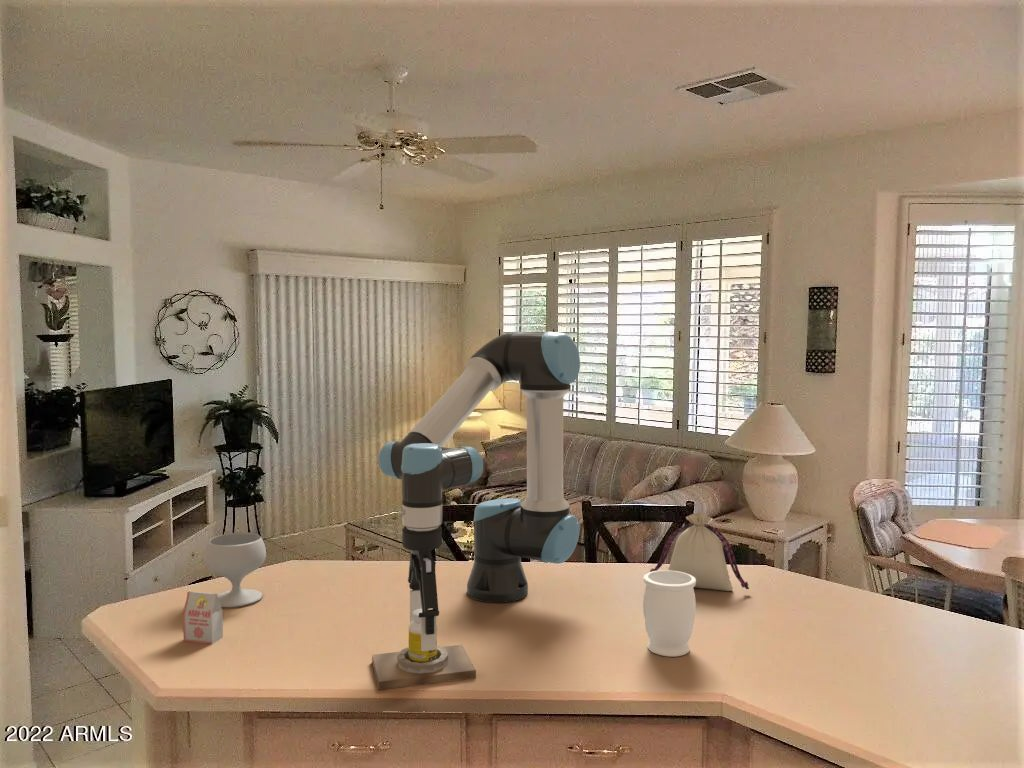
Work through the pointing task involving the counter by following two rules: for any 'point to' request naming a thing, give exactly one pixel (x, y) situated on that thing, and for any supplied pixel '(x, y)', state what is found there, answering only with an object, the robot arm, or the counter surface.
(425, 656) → the supplement bottle
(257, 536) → the chalice
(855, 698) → the counter surface
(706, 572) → the pouch
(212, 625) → the white carton
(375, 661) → the mount board
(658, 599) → the jar
